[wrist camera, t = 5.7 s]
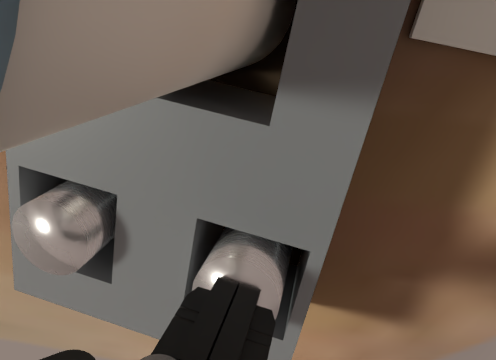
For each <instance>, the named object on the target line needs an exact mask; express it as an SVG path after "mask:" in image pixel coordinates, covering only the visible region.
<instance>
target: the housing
mask: <svg viewBox="0 0 496 360" xmlns="http://www.w3.org/2000/svg"><path fill="white" fill-rule="evenodd" d="M410 1H411V0H298V2H297V6H296V11H295V15H294V19H293V24H292V28H291V33H290V37H289V42H288V46H287V51H286V55H285V59H284V64H283V68H282V73H281V77H280V82H279V86H278V91H277V95H276V96H272V95H268V94H264V93H260V92H256V91H252V90H248V89H243V88H239V87H235V86H231V85H227V84H223V83H219V82H215V81H210V80H206V81H203V82H200V83H197V84H194V85H191V86H189V87H186V88H183V89H180V90H177V91H174V92H171V93H168V94H166V95H163V96H160V97H157V98H154V99H151V100H148V101H146V102H143V103H140V104H137V105H134V106H131V107H128V108H125V109H123V110H120V111H117V112H114V113H111V114H108V115H105V116H103V117H100V118H97V119H94V120H91V121H88V122H85V123H82V124H80V125H77V126H74V127H71V128H68V129H65V130H62V131H60V132H57V133H54V134H51V135H48V136H45V137H42V138H39V139H37V140H34V141H31V142H28V143H25V144H22V145H19V146H16V147H14V148H11V149H8V150H6V161H7V177H8V193H9V209H10V225H11V241H12V257H13V274H14V290H17V291H20V292H23V293H26V294H29V295H31V296H34V297H37V298H40V299H43V300H46V301H49V302H52V303H55V304H58V305H61V306H63V307H66V308H69V309H72V310H75V311H78V312H81V313H84V314H87V315H90V316H92V317H95V318H98V319H101V320H104V321H107V322H110V323H113V324H116V325H119V326H121V327H124V328H127V329H130V330H133V331H136V332H139V333H142V334H145V335H148V336H151V337H153V338H156V339H159V340H160V339H161V337H162V335H163V334H164V332H165V330H166V329H167V327H168V325H169V324H170V322H171V320H172V319H173V317H174V316H175V314H176V312H177V310H178V309H179V308H180V305H181V303H182V302H183V300H184V298H185V297H186V295H187V294H188V293H190V292H191V291H192V286H193V282H194V279H195V277H196V275H197V274H198V272H199V270H200V269H201V267H202V265H203V264H204V262H205V260H206V259H207V257H208V255H209V254H210V252H211V250H212V249H213V247H214V245H215V244H216V242H217V240H218V239H219V237H220V235H221V234H222V230H223V226H225V227H229V228H232V229H235V230H239V231H242V232H246V233H249V234H252V235H256V236H259V237H263V238H266V239H269V240H273V241H276V242H280V243H283V244H286V245H290V246H293V247H297V248H300V249H302V251H301V255H300V258H299V261H298V265H297V266H296V265H293V264H290V263H289V267H288V271H287V276H286V280H285V285H284V289H283V293H282V298H281V302H280V307H279V311H278V315H277V317H276V319H275V323H276V324H275V328H274V333H273V337H272V342H271V346H270V350H269V355H268V359H267V360H291V359H292V356H293V353H294V350H295V347H296V344H297V341H298V338H299V335H300V332H301V329H302V326H303V323H304V320H305V317H306V314H307V311H308V308H309V305H310V302H311V299H312V296H313V293H314V290H315V287H316V284H317V281H318V278H319V275H320V272H321V269H322V266H323V263H324V260H325V257H326V254H327V251H328V248H329V245H330V242H331V239H332V236H333V233H334V230H335V227H336V224H337V221H338V218H339V215H340V212H341V209H342V206H343V203H344V200H345V197H346V194H347V191H348V188H349V185H350V182H351V179H352V175H353V172H354V169H355V166H356V163H357V160H358V157H359V154H360V151H361V148H362V145H363V142H364V139H365V136H366V133H367V130H368V127H369V124H370V121H371V118H372V115H373V112H374V109H375V106H376V103H377V100H378V97H379V94H380V91H381V88H382V85H383V82H384V79H385V76H386V73H387V70H388V67H389V64H390V61H391V58H392V55H393V52H394V49H395V46H396V43H397V40H398V37H399V34H400V31H401V28H402V25H403V22H404V19H405V16H406V13H407V10H408V7H409V4H410ZM68 180H69V181H72V182H76V183H79V184H83V185H86V186H89V187H93V188H96V189H100V190H103V191H106V192H110V193H113V194H117V209H116V224H115V237H114V238H113V239H112V240H111V241H110V242H109V243H108V244H106V245H105V246H104V247H103V248H102V249H101V250H100V251H99V252H98V253H96V254H95V255H94V256H93V257H92V258H91V259H90V260H89V261H88V262H86V263H85V264H84V265H83V266H82V267H81V268H80V269H79V270H77V271H76V272H74V273H72V274H69V275H54V274H50V273H47V272H45V271H43V270H41V269H39V268H37V267H36V266H35V265H33V264H32V263H31V262H30V261H29V260H28V259H27V258H26V257H25V256H24V255H23V254H22V252H21V251H20V249H19V248H18V246H17V244H16V242H15V239H14V236H13V231H12V221H13V217H14V214H15V212H16V211H17V210H18V208H20V207H21V206H22V205H24V204H25V203H27V202H29V201H31V200H33V199H35V198H37V197H38V196H40V195H42V194H44V193H46V192H48V191H50V190H51V189H53V188H55V187H57V186H59V185H61V184H63V183H64V182H66V181H68Z"/></svg>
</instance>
